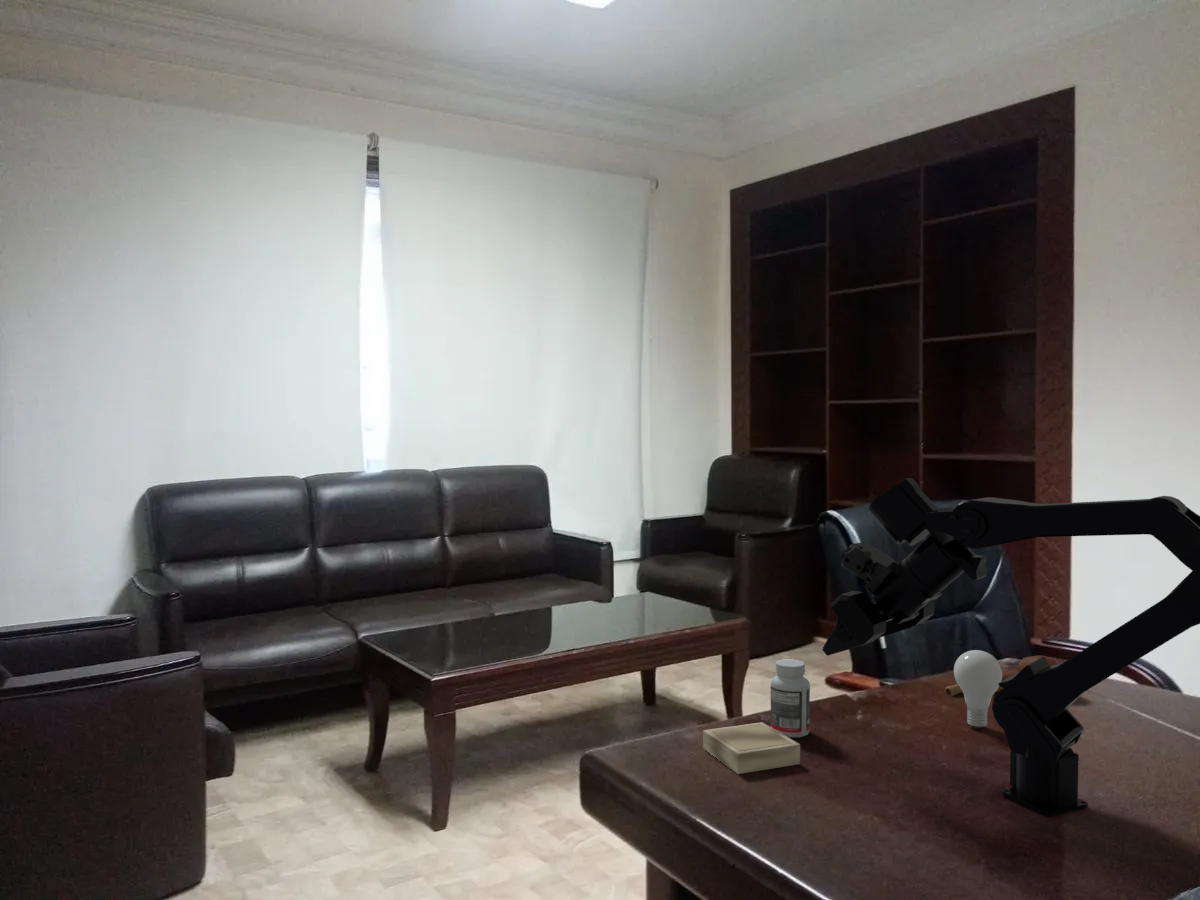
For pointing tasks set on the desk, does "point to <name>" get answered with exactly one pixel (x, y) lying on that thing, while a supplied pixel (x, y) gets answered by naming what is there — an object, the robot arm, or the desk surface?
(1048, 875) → the desk surface
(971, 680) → the lightbulb
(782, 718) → the pill bottle
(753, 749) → the plinth
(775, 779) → the desk surface
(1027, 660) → the pipe
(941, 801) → the desk surface
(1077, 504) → the robot arm
